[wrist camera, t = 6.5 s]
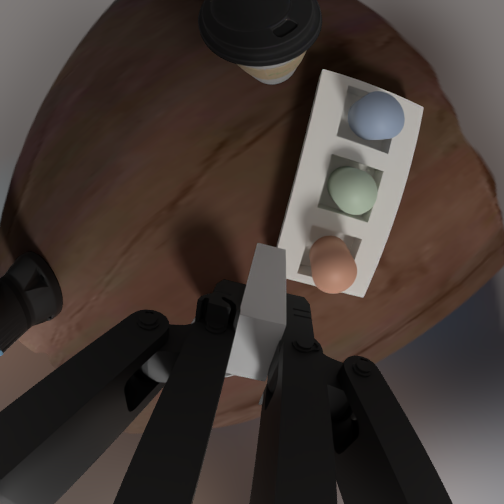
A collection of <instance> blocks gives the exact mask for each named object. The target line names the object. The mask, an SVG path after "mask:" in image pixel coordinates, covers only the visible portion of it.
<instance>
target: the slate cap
mask: <svg viewBox="0 0 504 504" xmlns="http://www.w3.org/2000/svg"><path fill="white" fill-rule="evenodd" d="M404 121H405V117H404V112H403V109H402V107H401V105H400V103H399V102H398V101H397V100H396V99H395V98H394V97H393V96H391V95H390V94H388V93H385V92H381V91H374V92H371V93H369V94H367V95H365V96H364V97H362V98H361V99H359V100H358V101H356V102H355V103H354V104H353V105H352V106H351V107H350V109H349V111H348V123H349V126H350V128H351V130H352V131H353V132H354V133H355V134H356V135H357V136H358V137H360V138H362V139H365V140H381V139H390V138H393V137H395V136H397V135H398V134H399V133H400V132H401V130H402V129H403V126H404Z"/></svg>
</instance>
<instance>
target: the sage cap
mask: <svg viewBox="0 0 504 504" xmlns="http://www.w3.org/2000/svg"><path fill="white" fill-rule="evenodd" d="M327 190H328V193H329V195H330V196H331V198H332V199H333V200H334V201H335V203H336V204H337V205H338V206H339V208H340V209H341V210H343V211H344V212H346V213H348V214H352V215H359V214H363V213H365V212H367V211H369V210H370V209H371V208H372V207H373V205H374V204H375V202H376V199H377V186H376V183H375V181H374V179H373V178H372V177H371V176H370V175H369V174H368V173H367V172H365V171H362V170H359V169H356V168H353V167H350V166H341V167H339V168H336V169H335V170H334V171H333V172H332V173H331V174H330V176H329V178H328V181H327Z"/></svg>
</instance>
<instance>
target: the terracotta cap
mask: <svg viewBox="0 0 504 504" xmlns="http://www.w3.org/2000/svg"><path fill="white" fill-rule="evenodd" d="M309 258H310V264H311V271H312V278H313V281H314V283H315V285H316V286H317V287H318V288H319V289H320V290H322V291H324V292H326V293H332V294H334V293H340V292H343V291H345V290H347V289H348V288H349V287H350V286H351V285H352V284H353V283H354V281H355V279H356V276H357V266H356V263H355V261H354V259H353V257H352V255H351V253H350V251H349V249H348V248H347V246H346V244H345V243H344V241H343V240H341V239H340V238H338V237H336V236H324V237H321V238H319V239H318V240H316V241H315V242H314V243H313V245H312V246H311V249H310V253H309Z"/></svg>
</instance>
